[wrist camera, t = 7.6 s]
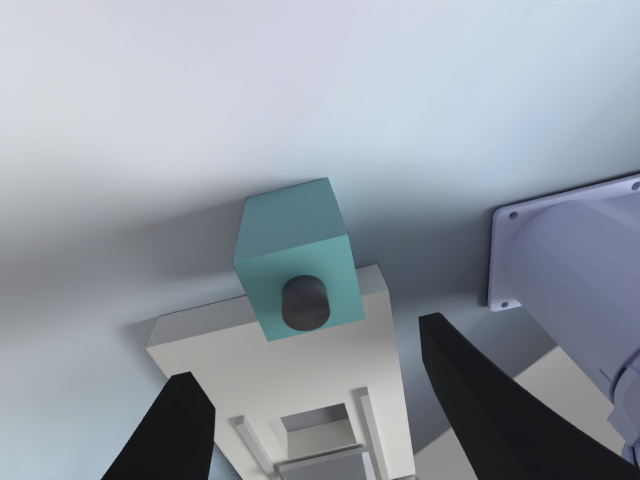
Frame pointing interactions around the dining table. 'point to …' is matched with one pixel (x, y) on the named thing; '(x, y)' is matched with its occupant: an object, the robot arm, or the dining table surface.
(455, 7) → the dining table surface
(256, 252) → the plug
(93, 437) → the dining table surface
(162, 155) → the dining table surface
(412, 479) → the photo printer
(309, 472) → the shutter
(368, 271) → the socket plate
